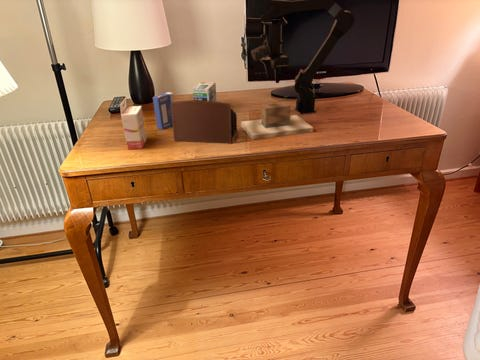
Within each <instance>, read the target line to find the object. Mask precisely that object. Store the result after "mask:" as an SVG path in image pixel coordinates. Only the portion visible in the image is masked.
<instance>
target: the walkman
mask: <svg viewBox="0 0 480 360" xmlns="http://www.w3.org/2000/svg"><path fill="white" fill-rule="evenodd" d="M152 101H153V109H154V117H155V123H156V128H157V129H158V130H162V131H163V130H165V129H168V128H170V127H173V124H172V115H171V103H173V102H175V96H174V92H170V91H168V92H165V93H160V94H158V95H155V96H153V97H152Z"/></svg>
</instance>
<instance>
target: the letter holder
mask: <svg viewBox="0 0 480 360" xmlns="http://www.w3.org/2000/svg"><path fill="white" fill-rule="evenodd" d="M171 115H172V124H173V126H172V131H173V139H174V142H188V143H191V142H192V143H211V144H226V143H227V144H233V141H234V140H235V138H236V136H237V134H238V133H237V132H238V122H237V113H236V112H235V111H234V110H233V108H231V104H229V103H228V102H227V103H226V102H220V101H217V102H215V101H204V100H194V99H192V100H191V99H190V100H180V101H174V102H173V103H171Z"/></svg>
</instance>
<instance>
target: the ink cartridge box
mask: <svg viewBox="0 0 480 360" xmlns="http://www.w3.org/2000/svg"><path fill="white" fill-rule="evenodd" d="M119 107H120V109H119V110H120V116H121V123H122V127H123V133H124V135H125V136H124V137H125V142H126V146H127V150H141V149H144V145H145V144H146V141H147V134H146V129H145V128H146V127H145V123H144V115H143V110H142V105H133V106H132V105H131V106H128V103H127V97H125V98H124V99H123V100H122V102H121V103H120V104H119Z"/></svg>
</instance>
